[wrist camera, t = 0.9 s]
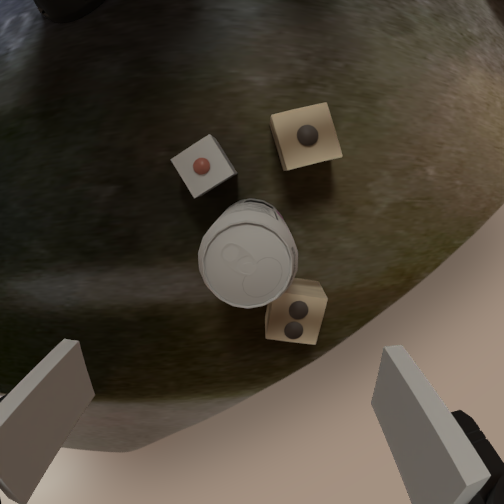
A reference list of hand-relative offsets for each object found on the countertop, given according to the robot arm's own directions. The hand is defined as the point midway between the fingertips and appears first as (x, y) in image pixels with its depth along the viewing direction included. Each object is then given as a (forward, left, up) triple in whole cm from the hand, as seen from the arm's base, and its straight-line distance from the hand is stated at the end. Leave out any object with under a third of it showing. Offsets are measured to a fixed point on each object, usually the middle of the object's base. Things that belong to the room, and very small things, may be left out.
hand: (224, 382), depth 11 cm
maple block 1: (-11, +6, -29) cm, 32 cm away
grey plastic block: (-8, -5, -29) cm, 31 cm away
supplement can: (0, 0, -29) cm, 29 cm away
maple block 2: (+9, +5, -29) cm, 31 cm away
